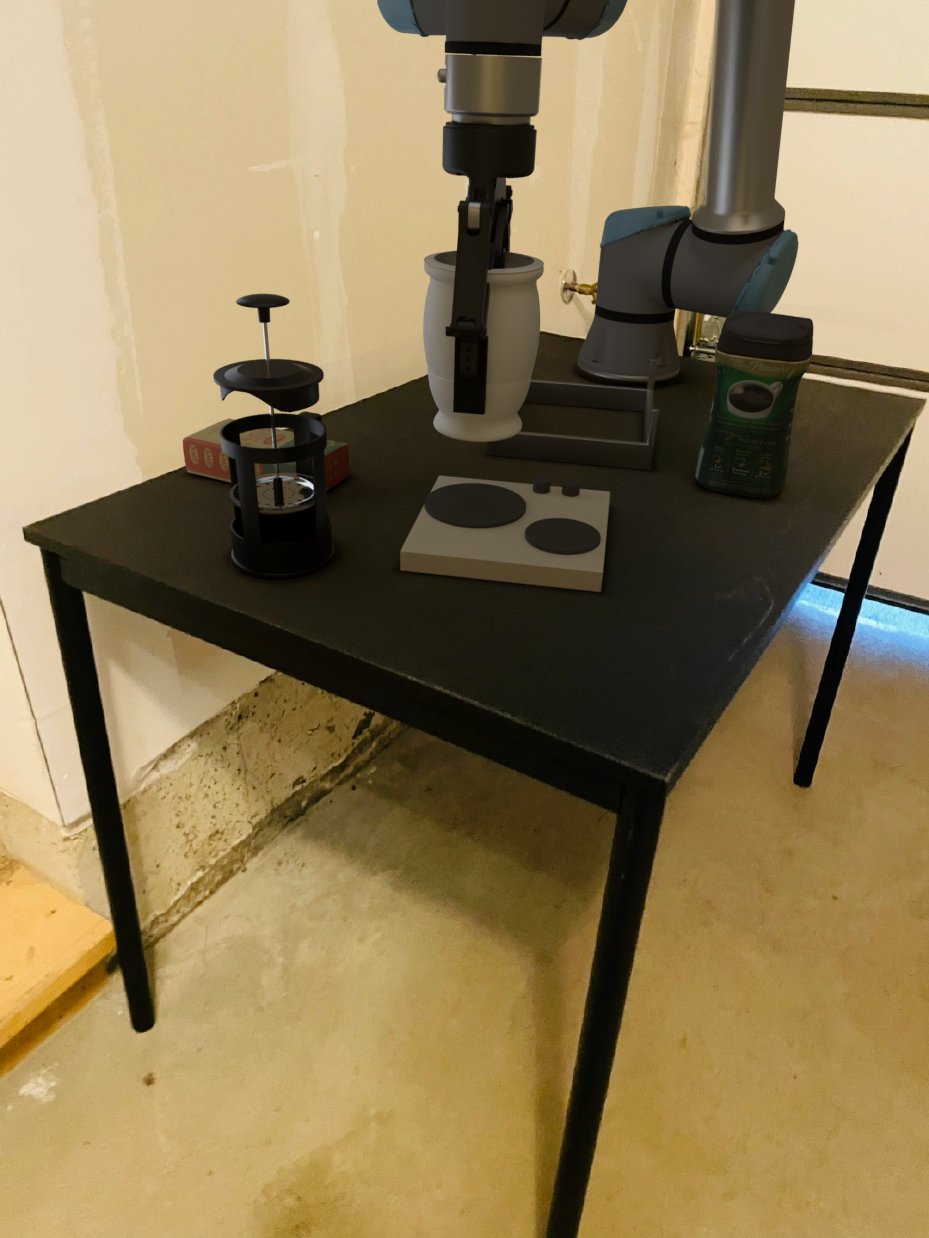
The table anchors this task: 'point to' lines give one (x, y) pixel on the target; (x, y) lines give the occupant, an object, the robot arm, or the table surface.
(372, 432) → the table surface
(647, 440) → the rack
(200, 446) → the carton
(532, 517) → the stove
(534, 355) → the jar
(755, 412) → the coffee jar
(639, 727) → the table surface
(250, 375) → the french press
